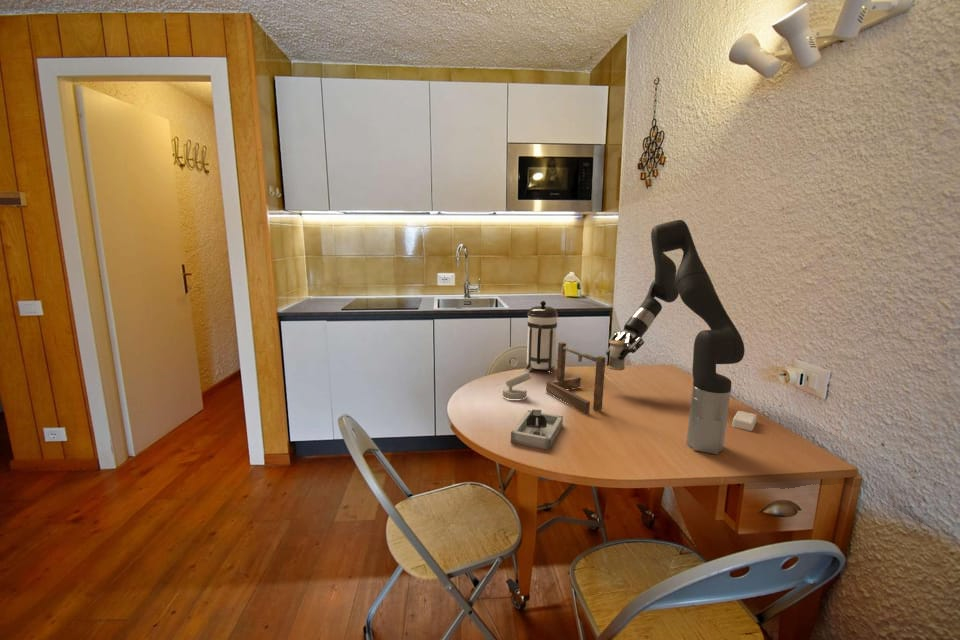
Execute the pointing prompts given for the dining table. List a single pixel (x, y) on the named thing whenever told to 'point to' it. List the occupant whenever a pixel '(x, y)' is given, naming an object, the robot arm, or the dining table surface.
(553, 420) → the plug tray
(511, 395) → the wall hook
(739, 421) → the soap
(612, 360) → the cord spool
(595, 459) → the dining table surface
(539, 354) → the coffee press
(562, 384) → the wooden frame rack
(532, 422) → the power plug
